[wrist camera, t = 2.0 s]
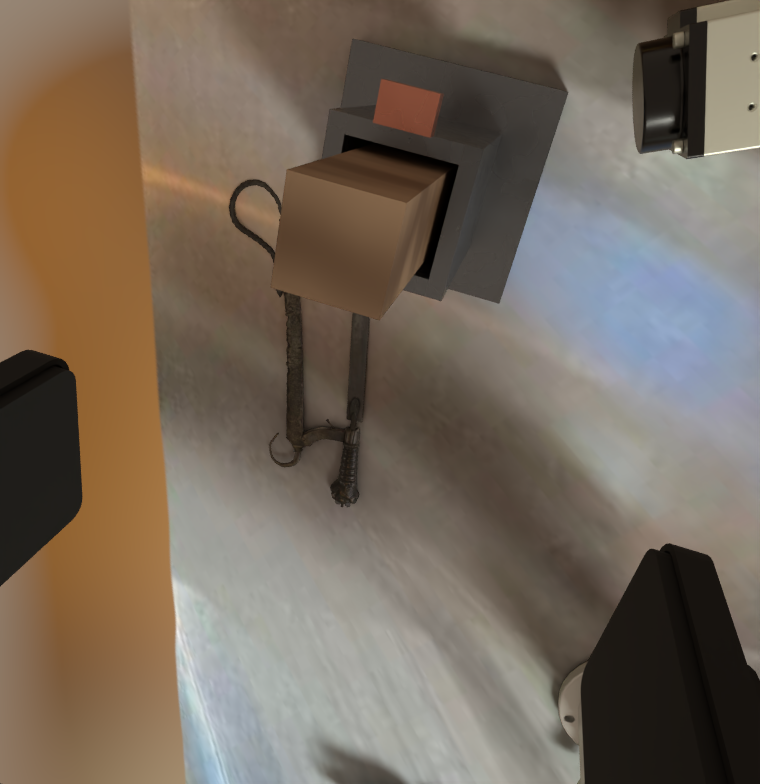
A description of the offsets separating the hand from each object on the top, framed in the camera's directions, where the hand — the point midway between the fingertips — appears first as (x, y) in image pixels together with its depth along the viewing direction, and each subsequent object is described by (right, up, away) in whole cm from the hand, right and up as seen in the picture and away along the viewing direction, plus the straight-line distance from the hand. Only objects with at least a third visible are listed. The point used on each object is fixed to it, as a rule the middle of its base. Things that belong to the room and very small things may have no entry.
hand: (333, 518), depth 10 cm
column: (+4, +14, +26) cm, 30 cm away
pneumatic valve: (+19, +19, +22) cm, 35 cm away
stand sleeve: (+4, +15, +28) cm, 32 cm away
